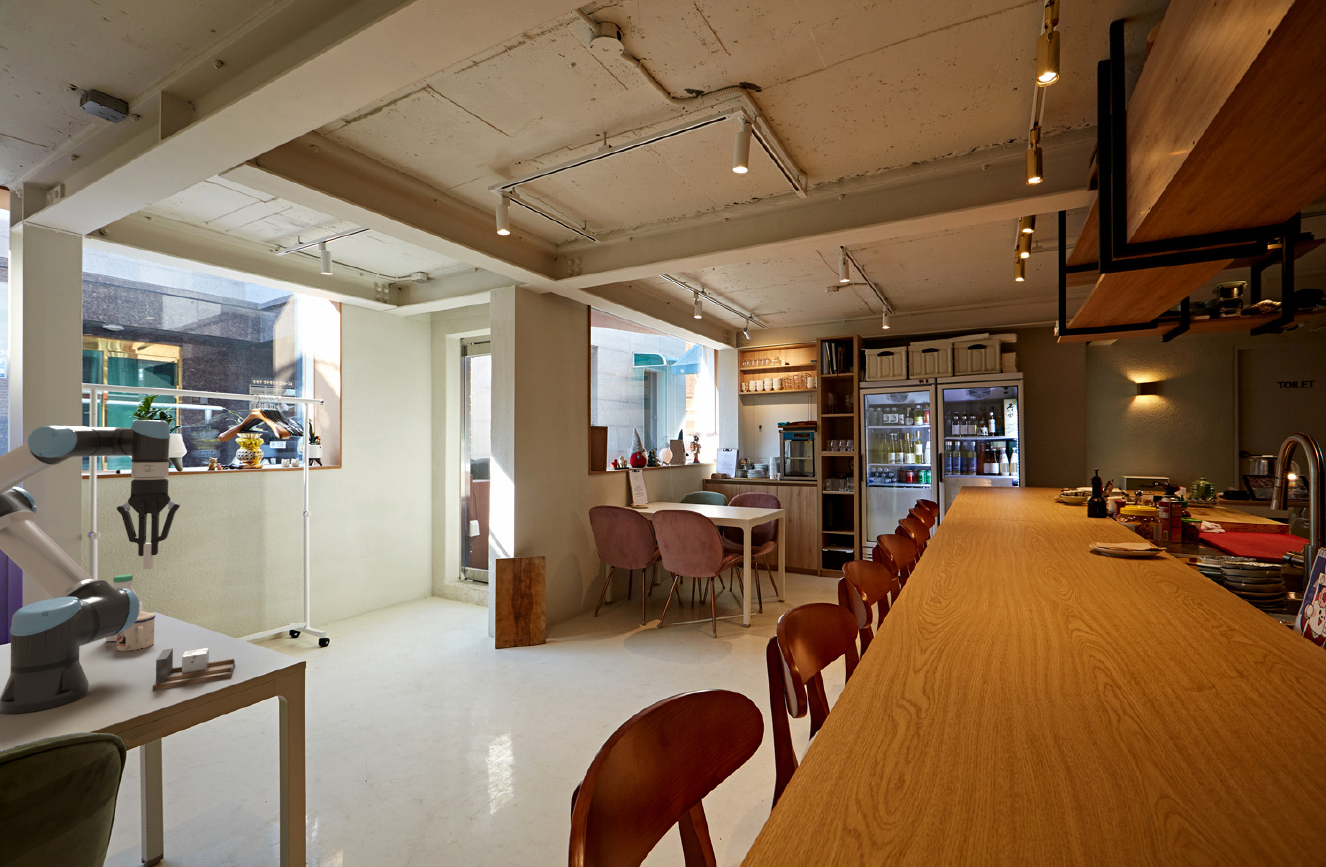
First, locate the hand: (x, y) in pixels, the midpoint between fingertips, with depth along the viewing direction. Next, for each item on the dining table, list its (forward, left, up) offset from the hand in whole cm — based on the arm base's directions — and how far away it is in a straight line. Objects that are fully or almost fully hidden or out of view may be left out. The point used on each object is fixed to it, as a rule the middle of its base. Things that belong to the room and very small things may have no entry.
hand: (147, 567), depth 159 cm
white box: (+11, -6, -28) cm, 30 cm away
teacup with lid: (-8, +34, -29) cm, 46 cm away
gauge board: (+11, -5, -29) cm, 31 cm away
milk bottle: (-14, +48, -29) cm, 58 cm away
